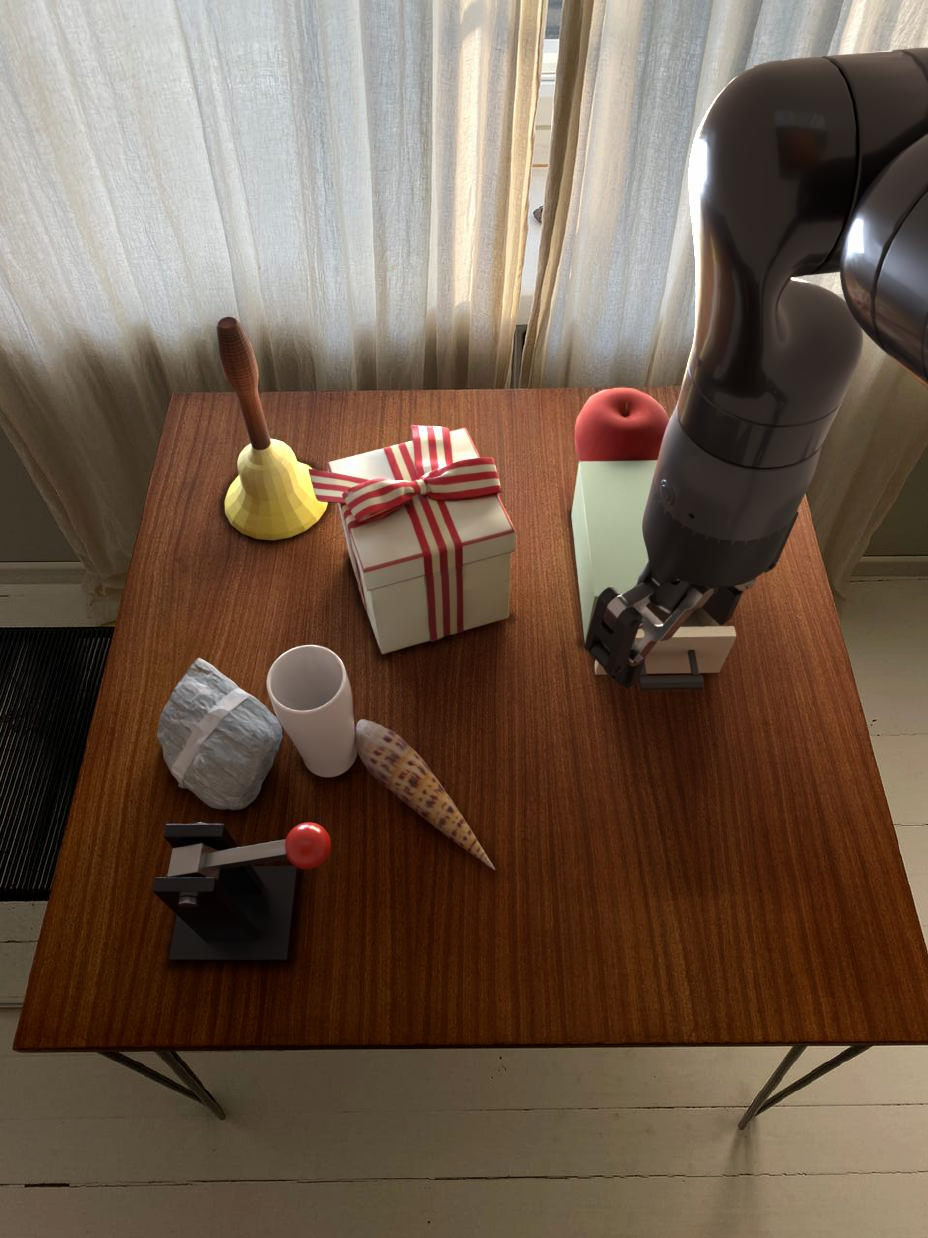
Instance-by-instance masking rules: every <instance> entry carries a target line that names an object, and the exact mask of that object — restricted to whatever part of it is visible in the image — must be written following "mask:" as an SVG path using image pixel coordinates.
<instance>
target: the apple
mask: <svg viewBox="0 0 928 1238" xmlns="http://www.w3.org/2000/svg"><path fill="white" fill-rule="evenodd" d="M669 420H670V418H669V415H668V413H667V412H666V410H665V409H664V407H663V406H662V404H660V403H659V402H658V401H657V400H656V399H655V398H653V397H652V396H651V395H649V394H647V393H646V392H643V391H641V390H638V389H636V388H630V387H614V388H608V389H607V388H606V389H602V390H599V391H598V392H596V393H594V394H592V395H590V396H589V397H588V399H587V400H586V402H585V404H584V405H583V406H582V408H581V410H580V412H579V414H578V415H577V417H576V419H575V425H574V449H575V452H576V454H577V457H578V459H579V462H593V461H657V460H658V456H659V452H660V448H661V444H662V440H663V437H664V434H665V431H666V428H667V425H668V423H669Z"/></svg>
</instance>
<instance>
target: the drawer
mask: <svg viewBox="0 0 928 1238" xmlns="http://www.w3.org/2000/svg"><path fill="white" fill-rule="evenodd" d="M646 607H647V608H648V609H649V610H650V611H651V612H652V613H653V614H654V615H655V616H656V617H657V618H658V619H659V620H660V621H661V622H662V623H663V624H664V623H665V622H666V620H667V619H668V618H669V617H670V615H671V614H668V613H666V612H665V611H663V610H661V609H659V608H658V607H656V606H654V605H653V604H652V603H651V602H650V603H648V604H647V605H646ZM718 625H719V624H718V623H717V622H716V621H715V620H714V619H713V618H712V617H711V616H710V615H708V614H707V613H706V612H705V611H704V610H703V608H702V607H701V608H699V609H695V610H694V611H693V612H692V613H691V614H690V616H689V617H688V618H687V619H686V620H685V622H684V623H683V624H682V625H681V627H680V628H679V629H678V630H677V631H676V633H675V634H674V635H673V636H672V637H671V639H669V640H665V641H658V642H657V643H656V644H655V646H654V647H653V648H652V649H651V650H650V652H649V653H648V654H647V655H646V657H645V661H644V664H643V667H642V670H641V674H640V677H639V680H638V683H637V689H638V691H639V692H647V691H648V692H653V691H654V692H655V691H657V692H658V691H660V692H661V691H662V692H663V691H703V690H704V688H705V687H704V686H705V680H704V676H703V675H701V674H715V673H717V674H718V673H720V672H721V670H722V668H723V666H724V664H725V662H726V659H727V658H728V655H729V653H730V652H731V649H732V647H733V645H734V642H735V641H736V639H737V632H736V628H735V625H723V626H718ZM643 637H644V631H643V629H642V628H641V629H638V632H637V634H636V637H635V640H634V641H635V642H636V643H637V644H638V643H639V642H640V641H641V640H642V638H643ZM594 660H595V661H594V672H595V675H608V674H607V673H606V672H605V670H604V668H603V667H602V666H601V665H600V664H599V663H598V662H597V661H596V659H594ZM648 674H649V675H648ZM650 674H651V675H650ZM652 674H653V675H652ZM654 674H682V675H654ZM683 674H686V675H683Z"/></svg>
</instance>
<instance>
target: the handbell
mask: <svg viewBox="0 0 928 1238" xmlns="http://www.w3.org/2000/svg"><path fill="white" fill-rule="evenodd" d="M215 329H216V341H217V342H216V343H217V346H216V347H217V355H218V358H219V361H220V366H221V369H222V372H223V376H224V378H225V380H226V382H227V384H228V385H229V386H230V387H231V389H232V391H233V392H234V394H235V396H236V398H237V401H238V404H239V407H240V411H241V414H242V417H243V421H244V426H245V429H246V431H247V435H248V439H249V442H250V443H248V445H246V446H245V447H244V448H243V449H242V451H241V452H240V453H239V456H238V459H237V472H238V476H237V477H235V479H234V480H233V481H232V483H231V484H230V486H229V488H228V490H227V492H226V496H225V499H224V513H225V516H226V518H227V519H228V521H229V523H230V525H231V526H232V527H234V528H235V529H236V530H237V531H238V532H240V533H241V534H242V535H245V536H247V537H251V538H253V539H256V540H267V541H278V540H283V539H289V538H293V537H294V536H296V535H297V536H298V535H299V534H301V533H304V532H307V530H308V529H310V528H311V527H312V526H313V525H315V524H316V523H318V522H319V520H320V519H321V518H322V516H323V515H324V513H325V511H326V510H327V507H328V504H329V503H328V502H320V501H318V500H317V499H316V496H315V494H314V490H313V485H312V483H311V478H310V475H309V471H308V469H313V468H312V467H311V466H310V465H308V464H305V463H303V462H300V461H298V460H297V457H296V455H295V453H294V451H293V450H292V448H291V447H290V446H289V445H288V444H286V443H285V442H284V441H281V440H278V439H276V438H275V439H274V438H271V436H270V432H269V429H268V425H267V421H266V417H265V414H264V410H263V406H262V403H261V399H260V395H259V389H258V385H259V378H260V375H259V367H258V362H257V359H256V356H255V352H254V348H253V344H252V343H251V341H250V339H249V337H248V336H247V333H246V332H245V330H244V327H243V325H242V323H241V322H240V321H239V320H238V318H235V317H233V316H225V317H222V318H221V319H220V320H218V322H217V324H216V326H215Z"/></svg>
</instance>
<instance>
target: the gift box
mask: <svg viewBox="0 0 928 1238" xmlns="http://www.w3.org/2000/svg"><path fill="white" fill-rule="evenodd" d="M410 428H411V430H412V440H409V441H405V442H402V443H398V444H394V445H390V446H386V447H383V448H379V449H374V450H372V451H368V452H367V451H366V452H364V453H360V454H355V455H352V456H347V457H343V458H339V459H336V460H332V461H328V462H326V467H327V471H325V470H319V469H315V468H312V469H308V471H309V475H310V478H311V483H312V485H313V490H314V494H315V496H316V499H317V500H318V501H320V502H328V503H327V504H330V503H331V504H337V506H338V508H339V513H340V518H341V522H342V527H343V532H344V537H345V542H346V547H347V551H348V556H349V559H350V560H349V561H350V563H351V566H352V569H353V572H354V576H355V578H356V583H357V587H358V591H359V594H360V598H361V602H362V604H363V606H364V610H365V613H366V614H367V617H368V619H369V622H370V625H371V628H372V631H373V634H374V637H375V640H376V643H377V645H378V648H379V650H380V653H381V655H386V654H390V653H393V652H396V651H400V650H403V649H407V648H410V647H413V646H416V645H420V644H424V643H427V642H432V643H434V642H435V641H438V640H440V639H442V638H444V637H448V636H451V635H456V634H459V633H463V632H464V631H468V630H471V629H476V628H479V627H482V626H487V625H489V624H493V623H496V622H500V621H503V620H506V619H508V618H509V616H510V591H511V590H510V589H511V562H512V561H511V560H512V559H511V557H512V553H513V552H516V551H515V550H516V539H517V537H516V534H517V533H516V529H515V527H514V524H513V523H512V521H511V519H510V517H509V515H508V513H507V510H506V508H505V506H504V504H503V502H502V500H501V498H500V496H499V494H502V493H503V491H502V487H501V482H500V478H499V474H498V470H497V466H496V463H495V459H494V458H493V457H491V456H490V457H489V456H484V457H481V456H480V454H479V452H478V450H477V448H476V446H475V444H474V442H473V439H472V438H471V435H470V434H469V431H468V429H467V427H462V428H457V429H453V430H449V427H445V426H439V425H438V426H437V425H436V426H435V425H432V426H431V425H415V424H410Z"/></svg>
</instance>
